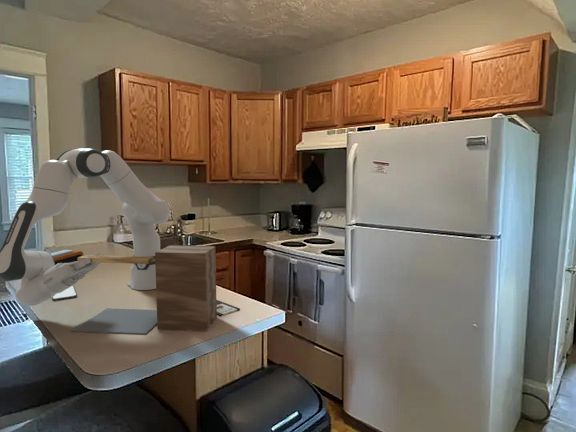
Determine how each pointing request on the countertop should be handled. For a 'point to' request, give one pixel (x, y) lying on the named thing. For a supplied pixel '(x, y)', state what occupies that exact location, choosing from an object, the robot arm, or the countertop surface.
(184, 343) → the countertop surface
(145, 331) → the rubber mat
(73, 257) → the alarm clock
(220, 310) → the chocolate bar
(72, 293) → the phone case
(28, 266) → the robot arm
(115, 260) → the ochre block
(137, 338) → the countertop surface
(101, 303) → the countertop surface
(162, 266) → the walnut shelf
